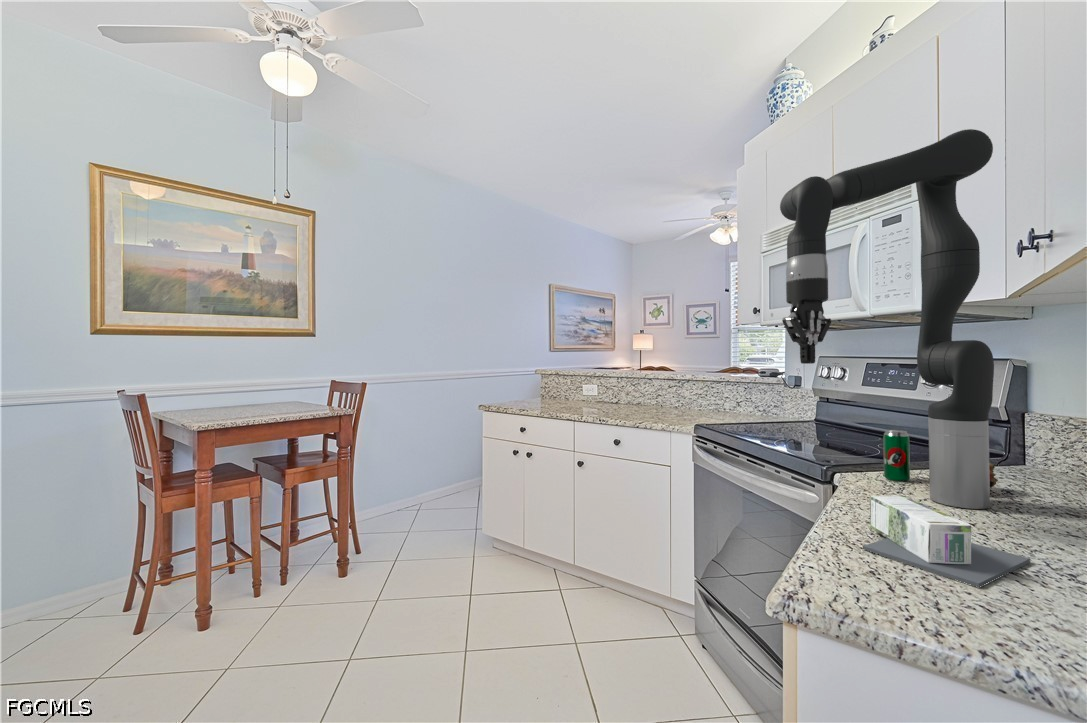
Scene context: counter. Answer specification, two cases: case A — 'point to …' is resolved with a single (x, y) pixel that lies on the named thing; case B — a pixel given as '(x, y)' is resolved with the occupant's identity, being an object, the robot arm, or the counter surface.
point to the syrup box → (921, 529)
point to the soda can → (896, 455)
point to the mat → (978, 573)
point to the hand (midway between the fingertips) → (807, 363)
